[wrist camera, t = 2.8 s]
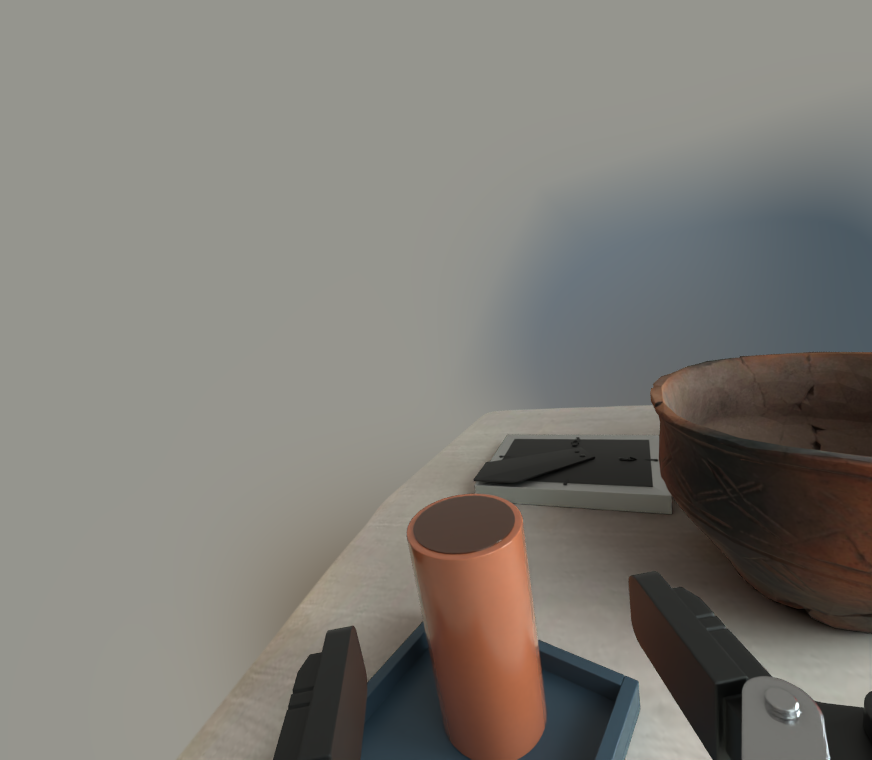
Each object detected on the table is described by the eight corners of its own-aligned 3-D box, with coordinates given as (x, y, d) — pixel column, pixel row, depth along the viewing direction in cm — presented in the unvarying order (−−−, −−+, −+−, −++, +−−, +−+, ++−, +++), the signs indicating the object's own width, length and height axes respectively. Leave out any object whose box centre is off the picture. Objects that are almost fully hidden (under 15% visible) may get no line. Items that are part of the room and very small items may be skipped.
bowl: (1298, 683, 23) (1398, 402, 19) (838, 784, 22) (858, 506, 18) (833, 475, 47) (841, 334, 43) (606, 517, 46) (596, 376, 42)
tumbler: (421, 727, 27) (381, 538, 24) (477, 650, 32) (450, 484, 29) (516, 790, 23) (482, 573, 20) (563, 691, 28) (542, 504, 25)
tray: (277, 819, 24) (268, 790, 23) (446, 621, 36) (442, 599, 35) (522, 1095, 15) (514, 1057, 14) (640, 709, 27) (638, 680, 26)
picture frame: (476, 501, 53) (672, 514, 45) (473, 479, 53) (671, 488, 44) (508, 447, 67) (662, 449, 58) (506, 429, 66) (661, 429, 58)
